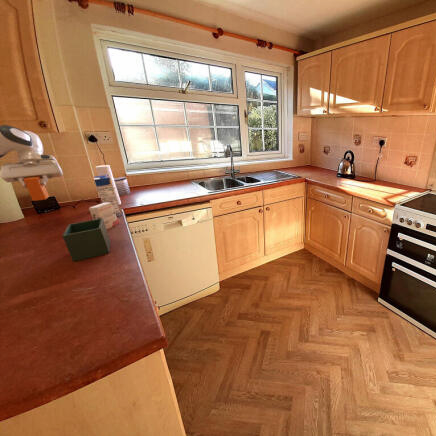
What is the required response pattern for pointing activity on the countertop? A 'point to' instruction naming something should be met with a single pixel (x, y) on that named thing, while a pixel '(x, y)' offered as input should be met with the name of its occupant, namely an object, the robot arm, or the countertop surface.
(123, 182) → the can
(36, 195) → the block
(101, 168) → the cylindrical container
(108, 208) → the ink box
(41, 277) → the countertop surface
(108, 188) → the beverage box
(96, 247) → the dark green open box
